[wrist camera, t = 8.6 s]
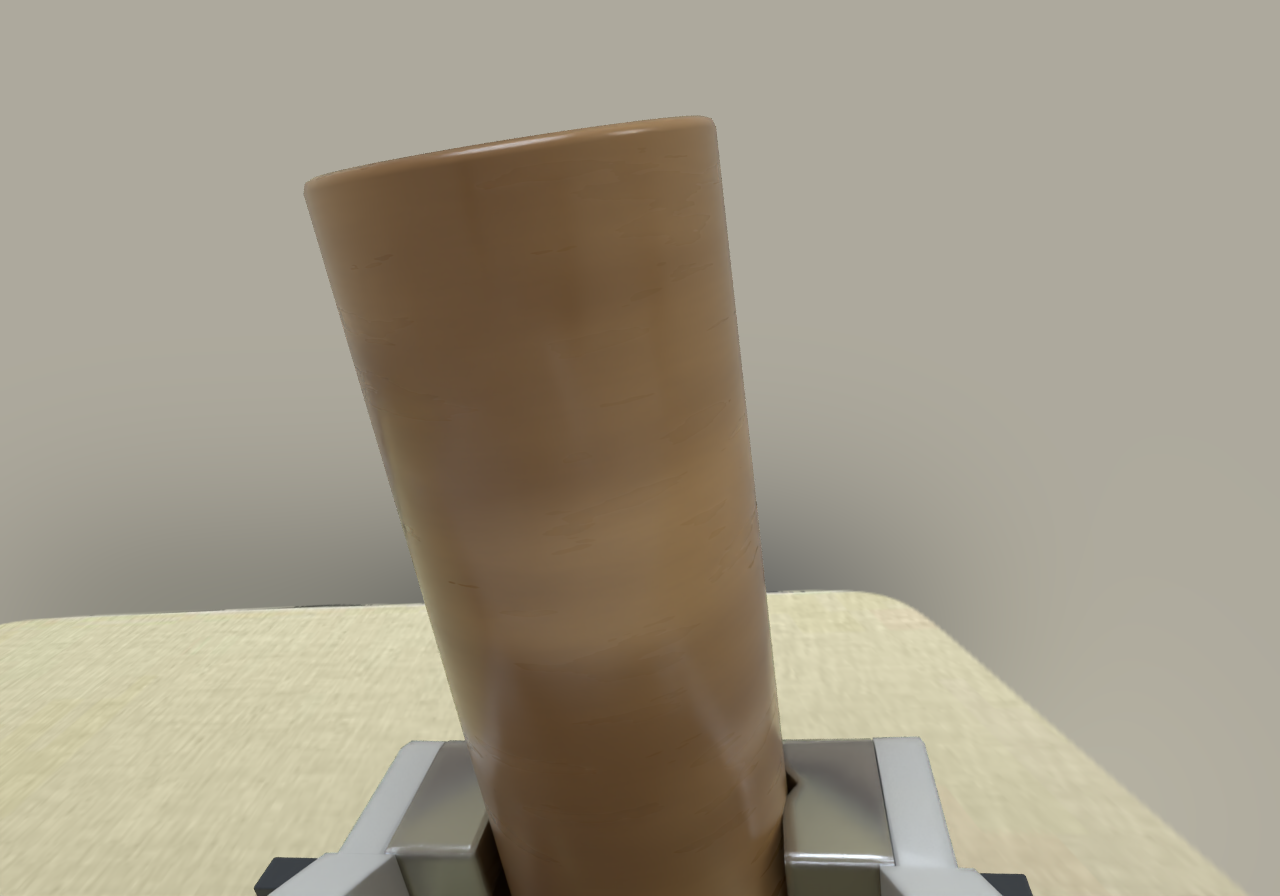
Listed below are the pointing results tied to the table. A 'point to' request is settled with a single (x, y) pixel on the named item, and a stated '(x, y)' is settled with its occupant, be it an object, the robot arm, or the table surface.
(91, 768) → the table surface
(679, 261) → the brush
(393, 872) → the robot arm
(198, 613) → the table surface
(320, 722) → the table surface
